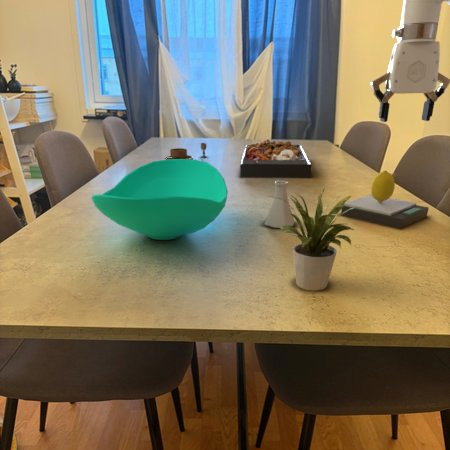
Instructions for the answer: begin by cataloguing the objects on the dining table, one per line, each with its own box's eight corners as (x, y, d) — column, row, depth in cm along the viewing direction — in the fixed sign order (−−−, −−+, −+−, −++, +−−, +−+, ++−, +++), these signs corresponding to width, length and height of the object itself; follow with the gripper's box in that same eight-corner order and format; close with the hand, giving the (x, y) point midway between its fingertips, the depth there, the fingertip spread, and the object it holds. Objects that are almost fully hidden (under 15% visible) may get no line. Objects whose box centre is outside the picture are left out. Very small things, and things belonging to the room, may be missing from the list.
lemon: (369, 205, 107) (374, 172, 103) (368, 199, 112) (372, 168, 108) (392, 206, 106) (398, 173, 102) (390, 200, 111) (396, 168, 107)
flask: (299, 222, 105) (302, 180, 100) (287, 230, 99) (290, 187, 95) (272, 218, 108) (273, 177, 103) (259, 226, 103) (260, 183, 98)
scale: (426, 216, 108) (429, 205, 107) (400, 229, 100) (402, 216, 98) (369, 204, 119) (370, 193, 117) (340, 215, 110) (342, 203, 109)
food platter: (310, 177, 150) (313, 146, 146) (240, 177, 152) (240, 146, 148) (301, 156, 190) (302, 131, 185) (245, 156, 192) (245, 131, 187)
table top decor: (213, 272, 78) (212, 200, 72) (69, 265, 82) (56, 195, 76) (236, 212, 113) (236, 159, 107) (134, 208, 117) (129, 158, 111)
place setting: (161, 158, 187) (160, 144, 184) (205, 156, 192) (205, 142, 190) (169, 165, 172) (168, 150, 170) (216, 162, 178) (216, 147, 175)
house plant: (258, 300, 68) (262, 198, 61) (265, 266, 81) (268, 178, 73) (351, 306, 66) (366, 201, 59) (343, 271, 79) (355, 180, 71)
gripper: (382, 34, 90) (371, 123, 97) (466, 32, 89) (449, 121, 97) (371, 38, 96) (362, 120, 104) (450, 35, 96) (435, 118, 104)
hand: (404, 120), depth 100 cm, fingers open, 9 cm apart
